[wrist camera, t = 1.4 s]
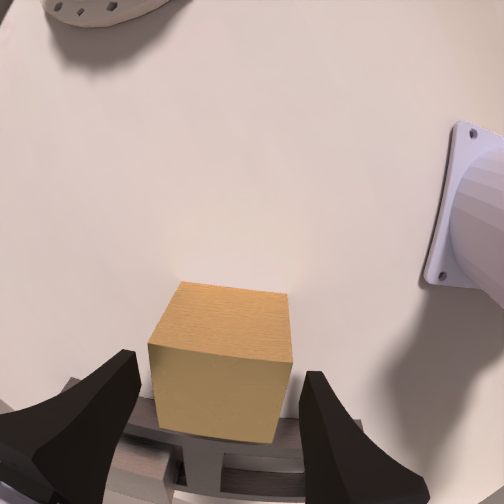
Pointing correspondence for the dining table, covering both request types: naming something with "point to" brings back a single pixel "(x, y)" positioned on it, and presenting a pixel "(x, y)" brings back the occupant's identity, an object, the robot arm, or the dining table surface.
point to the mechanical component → (98, 11)
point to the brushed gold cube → (221, 362)
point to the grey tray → (212, 458)
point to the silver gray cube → (145, 469)
